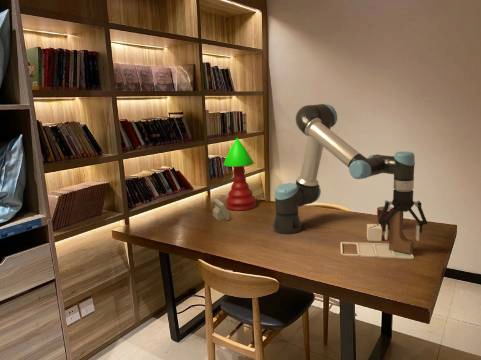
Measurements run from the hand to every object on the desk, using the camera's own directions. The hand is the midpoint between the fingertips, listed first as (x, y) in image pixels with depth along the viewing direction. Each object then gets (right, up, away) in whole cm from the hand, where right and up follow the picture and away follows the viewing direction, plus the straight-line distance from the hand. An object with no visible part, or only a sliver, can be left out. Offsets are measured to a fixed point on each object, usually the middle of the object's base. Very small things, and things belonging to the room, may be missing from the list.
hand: (401, 239), depth 154 cm
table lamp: (-68, +8, +82) cm, 107 cm away
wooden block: (0, -5, +1) cm, 5 cm away
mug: (+6, +1, +29) cm, 30 cm away
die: (-5, -2, +17) cm, 18 cm away
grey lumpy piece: (-79, +3, +62) cm, 101 cm away
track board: (-10, -6, +4) cm, 12 cm away
